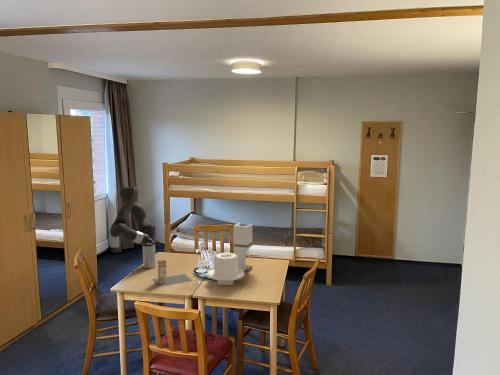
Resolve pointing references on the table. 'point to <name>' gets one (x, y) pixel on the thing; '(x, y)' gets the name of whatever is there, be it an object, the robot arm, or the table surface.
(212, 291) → the table surface
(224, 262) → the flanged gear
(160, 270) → the birch block
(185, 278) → the rubber mat
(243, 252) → the grey notched tower
